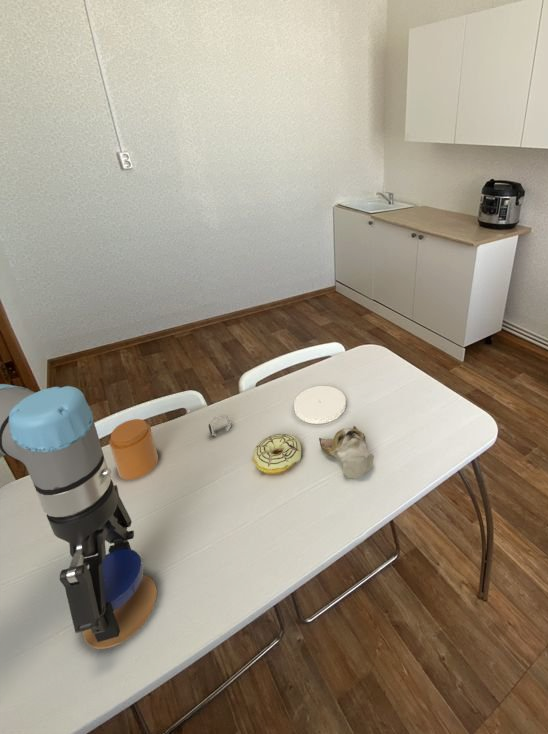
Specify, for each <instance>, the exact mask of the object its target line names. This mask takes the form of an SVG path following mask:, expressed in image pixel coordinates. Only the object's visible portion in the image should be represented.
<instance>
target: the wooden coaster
mask: <svg viewBox="0 0 548 734" xmlns="http://www.w3.org/2000/svg"><path fill="white" fill-rule="evenodd" d="M157 596H158V591H157V586H156V583H155V581H154V580H153V579H152V578H151V577H150V576H148V575H147V574H146V575H145V574H143V577H142V580H141V583H140V585H139V587H138V589H137V590H136V591H135V593H134V594H133V595H132V597H131V598H130V599H129V600H128V601H127V602H125V603H124V604H123V605H122V606H121V607H119V608H118V609H116V610H114V611H113V613H114V615H115V618H116V621H117V623H118V626H119V629H120V633H119V636H118V637H115V638H111V639H107V640H104V641H100V642H97V640H96V637H95V635H94V634H93V633H92V630H91V629H89V630H86V631H82V635H83V638H84V640H85V642H86V644H87V645H89V646H90V647H91V648H93V649H99V650H103V649H109V648H113V647H115V646H118V645H120V644H122V643H123V642H126V640H129V639H130V638H132V636H133V635H135V634H136V633H137V632H138V631H139V630H140V629H141V628H142V627H143V625H144V624H145V623H146V621H147V620H148V619H149V617H150V615H151V614H152V611H153V610H154V607H155V605H156V601H157Z"/></svg>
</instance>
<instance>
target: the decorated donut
mask: <svg viewBox="0 0 548 734" xmlns="http://www.w3.org/2000/svg"><path fill="white" fill-rule="evenodd" d="M252 454H253V456H252V457H253V458H252V459H253V463H254V465H255V467H256V468H257V469H258V471H260V472H262V473H264V474H266V475H273V476H274V475H280V474H283V473H286V472H288V471H289V470H290V469H292V468H293V467H294V466H296V464H297V463H298V462H300V461H301V458H302V445H301V442H300V440H299V439H298V438H297V436H295V435H293V434H287V433H276V434H273V435H269V436H267V437H265V438H263V439H262V440H260V441H259V442H258V443H257V444H256V446H255V448H254V449H253V452H252Z"/></svg>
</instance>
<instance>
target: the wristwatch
mask: <svg viewBox="0 0 548 734" xmlns="http://www.w3.org/2000/svg"><path fill="white" fill-rule="evenodd" d="M219 420H226V421H227V425H226V426H225V430H226V432H227V431H228V432H229V430H230V429H231V425H232V422H231V419H230V417H229V416H228V415H226V414H221V415H217V416H215V417H213V418H212V419H211V421H209V423H208V430H209V433H210V435H212V436H214V437H217V433H216V432H215V431H214V424H215V422H218V421H219Z"/></svg>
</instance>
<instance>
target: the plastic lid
mask: <svg viewBox="0 0 548 734" xmlns="http://www.w3.org/2000/svg"><path fill="white" fill-rule="evenodd" d="M293 406H294V407H293V408H294V413H295V415H296V417H297V418H298V419H299V420H301V421H302V422H306V424H307V423H308V424H313V425H314V424H315V425H319V424H320V425H322V424H327V423H331V422H333V421H335V420H336V419H338V418H339V417H341V416H342V415H343V414H344V412H345V410H346V406H347V398H346V396H345V394H344V393H343V392H342V391H341V390H340V389H338V388H336V387H333V386H329V385H318V386H312V387H308V388H306V389H304V390H303V391H301V392H299V393H298V395H297V396H296V398H295V399H294V402H293Z"/></svg>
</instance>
